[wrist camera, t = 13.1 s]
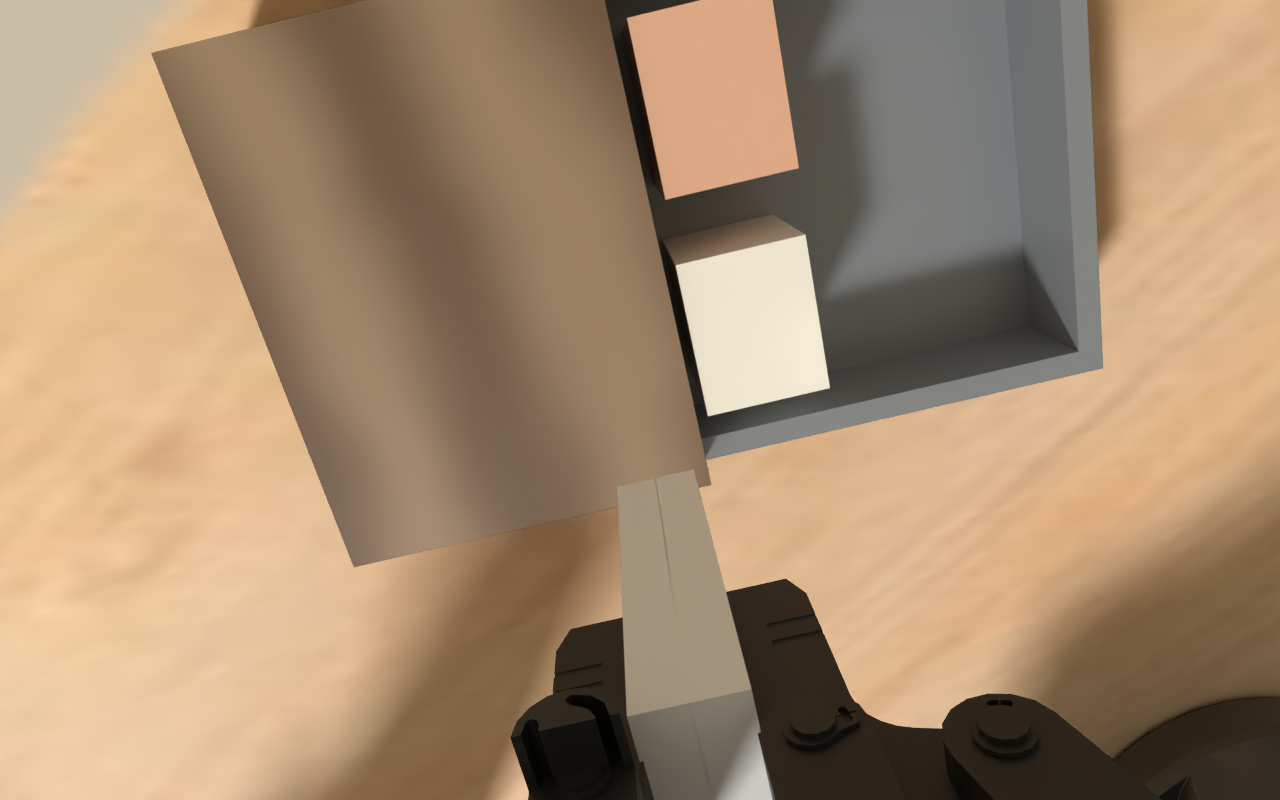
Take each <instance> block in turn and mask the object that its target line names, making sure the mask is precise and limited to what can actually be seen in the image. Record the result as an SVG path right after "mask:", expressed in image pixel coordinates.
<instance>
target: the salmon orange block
mask: <svg viewBox="0 0 1280 800" xmlns="http://www.w3.org/2000/svg"><path fill="white" fill-rule="evenodd" d="M621 33H622V38H623V42H624V47H625V52H626V56H627V61H628V66H629V70H630V75H631V80H632V84H633V89H634V94H635V98H636V103H637V108H638V112H639V117H640V122H641V126H642V131H643V136H644V140H645V145H646V150H647V154H648V159H649V164H650V168H651V173H652V178H653V182H654V185H655V186H656V188H657V189H658V190H659V192H660V193H661V194H662V196H663V197H664V198H665V200H667V199H671V198H675V197H679V196H683V195H688V194H692V193H696V192H700V191H705V190H709V189H713V188H717V187H721V186H726V185H730V184H734V183H738V182H743V181H747V180H751V179H755V178H759V177H764V176H768V175H772V174H776V173H780V172H785V171H789V170H793V169H797V168H799V166H798V159H797V153H796V147H795V140H794V134H793V127H792V121H791V115H790V108H789V102H788V96H787V89H786V83H785V76H784V70H783V64H782V57H781V51H780V44H779V38H778V32H777V25H776V19H775V13H774V6H773V0H699V1H695V2H691V3H687V4H683V5H678V6H674V7H670V8H666V9H662V10H658V11H654V12H650V13H645V14H641V15H637V16H633V17H629V18H627V19H626V22H625V25H624V27H623V30H622V32H621Z"/></svg>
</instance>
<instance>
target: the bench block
mask: <svg viewBox="0 0 1280 800" xmlns="http://www.w3.org/2000/svg"><path fill="white" fill-rule="evenodd" d="M151 54H152V56H153V59H154V61H155V64H156V66H157V69H158V71H159V74H160V76H161V79H162V82H163V84H164V87H165V89H166V92H167V94H168V97H169V99H170V102H171V104H172V107H173V109H174V112H175V114H176V117H177V120H178V122H179V125H180V127H181V130H182V132H183V135H184V137H185V140H186V142H187V145H188V147H189V150H190V153H191V155H192V158H193V160H194V163H195V165H196V168H197V170H198V173H199V175H200V178H201V180H202V183H203V185H204V188H205V191H206V193H207V196H208V198H209V201H210V203H211V206H212V208H213V211H214V213H215V216H216V218H217V221H218V224H219V226H220V229H221V231H222V234H223V236H224V239H225V241H226V244H227V246H228V249H229V251H230V254H231V256H232V259H233V262H234V264H235V267H236V269H237V272H238V274H239V277H240V279H241V282H242V284H243V287H244V289H245V292H246V295H247V297H248V300H249V302H250V305H251V307H252V310H253V312H254V315H255V317H256V320H257V322H258V325H259V328H260V330H261V333H262V335H263V338H264V340H265V343H266V345H267V348H268V350H269V353H270V355H271V358H272V360H273V363H274V366H275V368H276V371H277V373H278V376H279V378H280V381H281V383H282V386H283V388H284V391H285V393H286V396H287V399H288V401H289V404H290V406H291V409H292V411H293V414H294V416H295V419H296V421H297V424H298V426H299V429H300V431H301V434H302V437H303V439H304V442H305V444H306V447H307V449H308V452H309V454H310V457H311V459H312V462H313V464H314V467H315V470H316V472H317V475H318V477H319V480H320V482H321V485H322V487H323V490H324V492H325V495H326V497H327V500H328V502H329V505H330V508H331V510H332V513H333V515H334V518H335V520H336V523H337V525H338V528H339V530H340V533H341V535H342V538H343V541H344V543H345V546H346V548H347V551H348V553H349V556H350V558H351V561H352V563H353V566H354V567H357V566H361V565H366V564H370V563H374V562H379V561H383V560H387V559H392V558H396V557H400V556H405V555H409V554H414V553H418V552H422V551H427V550H431V549H435V548H440V547H444V546H448V545H453V544H457V543H461V542H466V541H470V540H474V539H479V538H483V537H487V536H492V535H496V534H500V533H505V532H509V531H513V530H518V529H522V528H526V527H531V526H535V525H539V524H544V523H548V522H552V521H557V520H561V519H566V518H570V517H574V516H579V515H583V514H587V513H592V512H596V511H600V510H605V509H609V508H613V507H618V494H617V487H618V486H623V485H627V484H632V483H636V482H640V481H645V480H649V479H653V478H658V477H662V476H667V475H671V474H675V473H680V472H684V471H688V470H693V469H694V473H695V476H696V480H697V484H698V488H700V487H704V486H709V485H711V481H710V476H709V472H708V467H707V463H706V458H705V454H704V449H703V445H702V440H701V436H700V431H699V427H698V422H697V418H696V413H695V408H694V404H693V399H692V395H691V390H690V386H689V381H688V377H687V372H686V368H685V363H684V359H683V354H682V349H681V345H680V340H679V336H678V331H677V327H676V322H675V318H674V313H673V309H672V304H671V300H670V295H669V291H668V286H667V281H666V277H665V272H664V268H663V263H662V259H661V254H660V250H659V245H658V241H657V236H656V232H655V227H654V222H653V218H652V213H651V209H650V204H649V200H648V195H647V191H646V186H645V182H644V177H643V173H642V168H641V164H640V159H639V154H638V150H637V145H636V141H635V136H634V132H633V127H632V123H631V118H630V114H629V109H628V105H627V100H626V95H625V91H624V86H623V82H622V77H621V73H620V68H619V64H618V59H617V55H616V50H615V46H614V41H613V37H612V32H611V27H610V23H609V18H608V14H607V9H606V5H605V0H363V1H359V2H355V3H351V4H347V5H343V6H339V7H335V8H331V9H327V10H323V11H319V12H315V13H311V14H307V15H303V16H299V17H295V18H291V19H287V20H282V21H278V22H274V23H270V24H266V25H262V26H258V27H254V28H250V29H246V30H242V31H238V32H234V33H230V34H226V35H222V36H218V37H214V38H210V39H206V40H202V41H198V42H194V43H190V44H186V45H182V46H178V47H174V48H170V49H166V50H162V51H158V52H154V53H151Z"/></svg>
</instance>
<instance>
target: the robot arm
mask: <svg viewBox="0 0 1280 800" xmlns="http://www.w3.org/2000/svg"><path fill="white" fill-rule="evenodd" d="M617 494H618V518H619V542H620V566H621V590H622V613H623V618H619V619H614V620H610V621H605V622H601V623H596V624H592V625H587V626H583V627H578V628H574V629H571V630H570V631H569V633H568V634H567V636H566V637H565V639H564V640H563V642H562V643H561V645H560V647H559V648H558V650H557V651H556V662H555V678H554V686H553V695H550V696H547V697H545V698H544V699H542V700H541V701H539V702H538V703H536V704H535V705H533V706H531V707H530V708H529V709H528V710H527V711H526V712H525V713H524V714H523V716H522V717H521V718H520V719H519V720H518V721H517V722H516V725H515V727H514V730H513V732H512V735H511V740H512V743H513V746H514V749H515V752H516V755H517V758H518V761H519V764H520V767H521V770H522V772H523V775H524V778H525V781H526V784H527V787H528V790H529V798H528V800H1280V698H1252V699H1242V700H1235V701H1230V702H1224V703H1220V704H1216V705H1212V706H1209V707H1206V708H1203V709H1199V710H1197V711H1194V712H1191V713H1189V714H1186V715H1184V716H1182V717H1179V718H1177V719H1175V720H1173V721H1171V722H1169V723H1167V724H1165V725H1163V726H1161V727H1160V728H1158V729H1156V730H1154V731H1153V732H1151V733H1150V734H1148V735H1146V736H1145V737H1143V738H1142V739H1141V740H1139V741H1138V742H1136V743H1135V744H1134V745H1132V746H1131V747H1130V748H1129V749H1128V750H1126V751H1125V752H1124V753H1123V754H1122V755H1121V756H1120V757H1118V758H1117V759H1116V760H1115V761H1114V760H1113V759H1111V758H1110V757H1109V756H1108V755H1107V754H1105V753H1104V752H1103V751H1102V750H1100V749H1099V748H1098V747H1097V746H1096V745H1094V744H1093V743H1092V742H1091V741H1090V740H1088V739H1087V738H1086V737H1085V736H1083V735H1082V734H1081V733H1080V732H1079V731H1077V730H1076V729H1075V728H1074V727H1072V726H1071V725H1070V724H1069V723H1068V722H1066V721H1065V720H1064V719H1063V718H1061V717H1060V716H1059V715H1058V714H1057V713H1055V712H1054V711H1052V710H1050V709H1049V708H1047V707H1045V706H1044V705H1042V704H1040V703H1038V702H1037V701H1035V700H1031V699H1028V698H1024V697H1020V696H1017V695H1013V694H985V695H981V696H977V697H973V698H969V699H966V700H965V701H963V702H961V703H960V704H958V705H957V706H955V707H954V708H952V709H951V710H950V712H949V713H948V715H947V717H946V718H945V720H944V722H943V723H942V729H933V728H911V727H902V726H896V725H892V724H889V723H885V722H882V721H880V720H878V719H876V718H874V717H872V716H870V715H868V714H867V713H865V711H864V710H863V709H862V708H861V706H860V705H859V704H858V703H856V702H854V700H853V699H852V697H851V695H850V693H849V691H848V689H847V686H846V684H845V682H844V679H843V677H842V675H841V673H840V670H839V668H838V666H837V663H836V661H835V659H834V656H833V654H832V652H831V649H830V647H829V645H828V642H827V640H826V638H825V636H824V634H823V632H822V629H821V626H820V624H819V622H818V619H817V617H816V616H815V612H814V610H813V608H812V605H811V603H810V601H809V598H808V596H807V594H806V593H805V592H804V591H802V590H801V589H800V588H798V587H797V586H795V585H794V584H793V583H791V582H790V581H788V580H787V579H783V580H778V581H774V582H769V583H765V584H760V585H756V586H751V587H747V588H742V589H738V590H733V591H729V592H726V590H725V587H724V583H723V579H722V575H721V571H720V568H719V564H718V560H717V556H716V552H715V549H714V545H713V541H712V537H711V533H710V530H709V526H708V522H707V518H706V514H705V511H704V507H703V503H702V499H701V495H700V492H699V488H698V484H697V480H696V476H695V473H694V469H693V470H688V471H684V472H680V473H675V474H671V475H667V476H662V477H658V478H653V479H649V480H645V481H640V482H636V483H632V484H627V485H623V486H618V487H617Z"/></svg>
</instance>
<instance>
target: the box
mask: <svg viewBox="0 0 1280 800" xmlns="http://www.w3.org/2000/svg"><path fill="white" fill-rule="evenodd" d="M695 1H699V0H605V5H606V9H607V14H608V18H609V23H610V27H611V32H612V37H613V41H614V46H615V50H616V55H617V59H618V64H619V68H620V73H621V77H622V82H623V86H624V91H625V95H626V100H627V105H628V109H629V114H630V118H631V123H632V127H633V132H634V136H635V141H636V145H637V150H638V154H639V159H640V164H641V168H642V173H643V177H644V182H645V186H646V191H647V195H648V200H649V204H650V209H651V213H652V218H653V222H654V227H655V232H656V236H657V241H658V245H659V250H660V254H661V259H662V263H663V268H664V272H665V277H666V281H667V286H668V291H669V295H670V300H671V304H672V309H673V313H674V318H675V322H676V327H677V331H678V336H679V340H680V345H681V349H682V354H683V359H684V363H685V368H686V372H687V377H688V381H689V386H690V390H691V395H692V399H693V404H694V408H695V413H696V418H697V422H698V427H699V431H700V436H701V440H702V445H703V449H704V454H705V458H706V460H708V459H712V458H716V457H721V456H725V455H729V454H734V453H738V452H742V451H747V450H751V449H755V448H760V447H764V446H768V445H773V444H777V443H781V442H786V441H790V440H794V439H798V438H803V437H807V436H811V435H816V434H820V433H824V432H829V431H833V430H837V429H842V428H846V427H850V426H855V425H859V424H863V423H868V422H872V421H876V420H881V419H885V418H889V417H894V416H898V415H902V414H907V413H911V412H915V411H920V410H924V409H928V408H933V407H937V406H941V405H946V404H950V403H954V402H959V401H963V400H967V399H972V398H976V397H980V396H985V395H989V394H993V393H998V392H1002V391H1006V390H1011V389H1015V388H1019V387H1023V386H1028V385H1032V384H1036V383H1041V382H1045V381H1049V380H1054V379H1058V378H1062V377H1067V376H1071V375H1075V374H1080V373H1084V372H1088V371H1093V370H1097V369H1101V368H1103V356H1102V333H1101V310H1100V287H1099V264H1098V241H1097V218H1096V195H1095V172H1094V149H1093V126H1092V103H1091V80H1090V57H1089V34H1088V11H1087V0H773V6H774V13H775V19H776V25H777V32H778V38H779V44H780V51H781V57H782V64H783V70H784V76H785V83H786V89H787V96H788V102H789V108H790V115H791V121H792V127H793V134H794V140H795V147H796V153H797V159H798V166H799V168H797V169H793V170H789V171H785V172H780V173H776V174H772V175H768V176H764V177H759V178H755V179H751V180H747V181H743V182H738V183H734V184H730V185H726V186H721V187H717V188H713V189H709V190H705V191H700V192H696V193H692V194H688V195H683V196H679V197H675V198H671V199H667V200H665V198H664V197H663V196H662V194H661V193H660V192H659V190H658V189H657V188H656V186H655V185H654V182H653V178H652V173H651V168H650V164H649V159H648V154H647V150H646V145H645V140H644V136H643V131H642V126H641V122H640V117H639V112H638V108H637V103H636V98H635V94H634V89H633V84H632V80H631V75H630V70H629V66H628V61H627V56H626V52H625V47H624V42H623V38H622V33H621V32H622V30H623V27H624V25H625V22H626V19H627V18H629V17H633V16H637V15H641V14H645V13H650V12H654V11H658V10H662V9H666V8H670V7H674V6H678V5H683V4H687V3H691V2H695ZM771 214H773V215H774V216H776V217H778V218H779V219H781V220H783V221H784V222H786V223H787V224H789V225H791V226H792V227H794V228H796V229H797V230H799V231H800V232H802V233H804V234H805V235H806V241H807V247H808V254H809V260H810V266H811V272H812V279H813V285H814V291H815V297H816V304H817V310H818V316H819V322H820V329H821V335H822V341H823V347H824V354H825V360H826V366H827V373H828V379H829V385H830V388H828V389H824V390H820V391H815V392H811V393H807V394H802V395H798V396H794V397H789V398H785V399H781V400H777V401H772V402H768V403H764V404H759V405H755V406H751V407H746V408H742V409H738V410H733V411H729V412H725V413H720V414H716V415H712V416H708V415H707V412H706V410H705V407H704V404H703V402H702V399H701V396H700V393H699V391H698V388H697V385H696V383H695V380H694V377H693V374H692V372H691V368H690V363H689V359H688V354H687V350H686V345H685V340H684V336H683V331H682V327H681V322H680V317H679V313H678V308H677V304H676V299H675V294H674V290H673V285H672V281H671V276H670V271H669V267H668V262H667V258H666V253H665V248H664V244H663V240H666V239H670V238H674V237H678V236H682V235H687V234H691V233H695V232H699V231H703V230H708V229H712V228H716V227H720V226H725V225H729V224H733V223H737V222H741V221H746V220H750V219H754V218H758V217H762V216H767V215H771Z"/></svg>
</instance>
